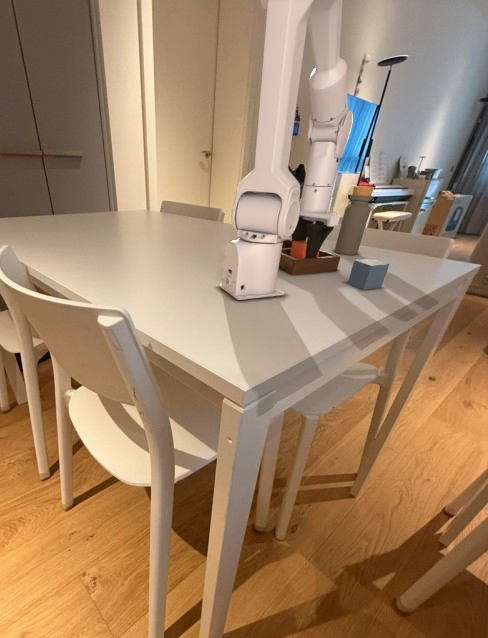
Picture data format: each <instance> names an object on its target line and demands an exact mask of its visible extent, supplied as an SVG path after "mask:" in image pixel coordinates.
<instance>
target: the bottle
mask: <svg viewBox="0 0 488 638" xmlns="http://www.w3.org/2000/svg"><path fill="white" fill-rule="evenodd" d="M374 189H375V186H369V185H354V186H353V189H352V194H350V196H349V200H350V204H348V205H346V206H345V208H344V212H343V217H342V220H341V224H340V228H339V232H338V236H337V239H336V243H335V246H334V252H335V253H336V254H341V255H348V256H349V255H350V256H351V255H352V256H353V255H357V254H358V252H359V249H360V246H361V243H362V240H363V236H364V233H365V229H366V226H367V223H368V219H369V216H370V212H371V207H370V205H369V202H370V201H372V200H373V195H372V193H373V192H374Z"/></svg>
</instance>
